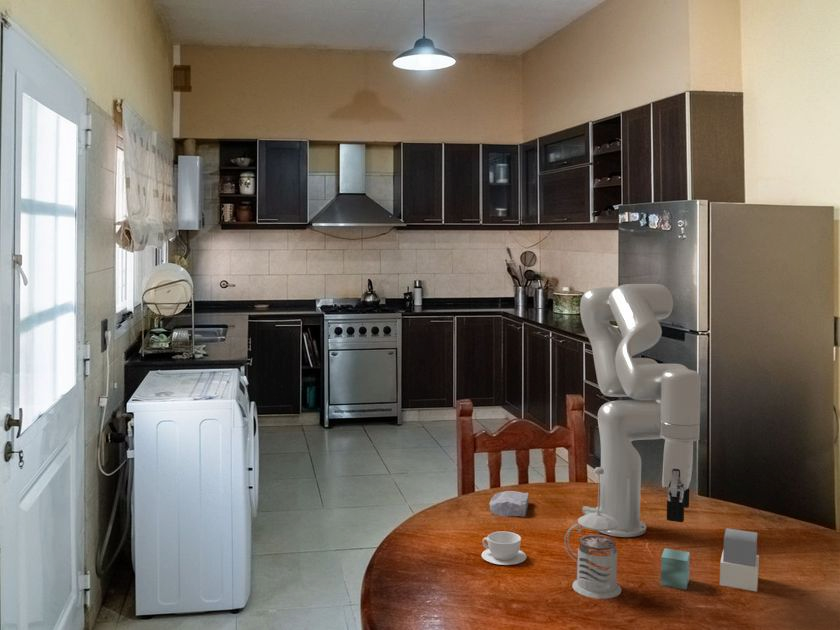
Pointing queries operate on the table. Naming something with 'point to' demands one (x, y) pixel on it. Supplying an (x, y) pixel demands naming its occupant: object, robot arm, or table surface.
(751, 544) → the tower top
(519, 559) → the teacup
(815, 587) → the table surface
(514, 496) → the stone block
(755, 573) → the block
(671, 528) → the table surface
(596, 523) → the french press
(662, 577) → the teal pillar
